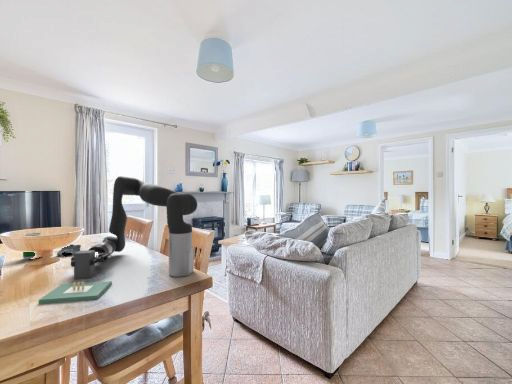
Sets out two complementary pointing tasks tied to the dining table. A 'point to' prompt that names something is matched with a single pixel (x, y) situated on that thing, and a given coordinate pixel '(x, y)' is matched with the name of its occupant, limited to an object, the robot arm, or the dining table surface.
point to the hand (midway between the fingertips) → (81, 263)
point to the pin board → (76, 292)
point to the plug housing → (83, 264)
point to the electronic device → (69, 250)
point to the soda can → (30, 254)
